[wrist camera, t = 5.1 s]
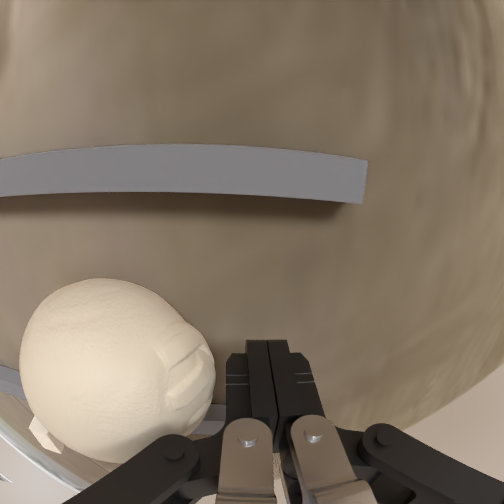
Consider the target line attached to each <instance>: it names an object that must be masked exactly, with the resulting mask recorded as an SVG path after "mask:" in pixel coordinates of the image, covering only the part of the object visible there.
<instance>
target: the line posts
mask: <svg viewBox="0 0 504 504" xmlns="http://www.w3.org/2000/svg"><path fill="white" fill-rule="evenodd" d="M29 429H30V430H31V432H32V433H33V434H34V436H35V437H36V438H37V440H38V441H39V442H40V443H41V445H42V446H43V447H44V448H45V449H48V450H51V451H54V452H57V453H60V454H62V452H63V449H64V446H65V444H63V443H62V442H60V441H59V440H58V439H57V438H55V437H54V436H53V435H52V434H51V433H50V432H48V431H47V430H46V429H45V428H44V427H43V426H42V424H41V423H40V422H39V421H38V419H37V418H36V417H35V416H34V418H33V420H32V422H31V424H30V426H29Z"/></svg>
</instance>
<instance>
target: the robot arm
mask: <svg viewBox="0 0 504 504" xmlns="http://www.w3.org/2000/svg"><path fill="white" fill-rule="evenodd" d="M273 453H280V459H281V464H280V467H279V473H280V477H281V481H282V485H283V489H284V493H285V498H286V502H287V504H504V482H502V481H499V480H497V479H495V478H493V477H490V476H488V475H486V474H483V473H482V472H479V471H477V470H475V469H473V468H471V467H468V466H467V465H465V464H463V463H461V462H459V461H457V460H455V459H453V458H451V457H449V456H447V455H445V454H443V453H441V452H439V451H437V450H435V449H433V448H431V447H429V446H428V445H425V444H424V443H422V442H420V441H419V440H417V439H415V438H413V437H411V436H409V435H408V434H406V433H404V432H402V431H401V430H399V429H397V428H395V427H394V426H392V425H389V424H384V423H380V424H374V425H372V426H370V427H369V428H367V429H366V431H365V432H360V431H351V430H344V429H341V428H338V427H336V426H334V424H333V423H332V422H331V421H330V420H328V419H327V418H326V417H325V414H324V412H323V408H322V405H321V401H320V398H319V395H318V391H317V388H316V385H315V383H314V378H313V375H312V371H311V368H310V365H309V362H308V360H307V359H306V358H305V357H304V356H303V355H302V354H301V353H290V351H289V347H288V343H287V340H246V345H245V354H242V353H232V354H231V356H230V357H229V359H228V361H227V362H226V421H225V424H224V426H223V427H222V429H221V430H220V431H219V432H218V433H216V434H215V435H213V436H211V437H208V438H204V439H199V440H195V441H192V440H190V439H189V438H187V437H185V436H182V435H178V434H168V435H164V436H161V437H159V438H158V439H156V440H155V441H153V442H152V443H151V444H150V445H148V446H147V447H145V448H144V449H143V450H141V451H140V452H139V453H137V454H136V455H135V456H133V457H132V458H130V459H129V460H128V461H126V462H125V463H123V464H122V465H121V466H119V467H118V468H116V469H115V470H113V471H112V472H111V473H109V474H108V475H106V476H105V477H103V478H102V479H100V480H99V481H97V482H96V483H94V484H93V485H91V486H90V487H88V488H86V489H85V490H83V491H82V492H80V493H79V494H77V495H76V496H74V497H72V498H70V499H69V500H67V501H66V502H64V503H63V504H195V503H196V502H198V501H199V500H200V499H201V498H202V497H204V496H208V495H212V494H216V493H217V495H216V502H215V504H277V499H276V496H275V494H274V477H273Z"/></svg>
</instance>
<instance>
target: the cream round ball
mask: <svg viewBox="0 0 504 504" xmlns="http://www.w3.org/2000/svg"><path fill="white" fill-rule="evenodd" d="M19 368H20V376H21V382H22V386H23V390H24V393H25V396H26V399H27V401H28V404H29V406H30V408H31V410H32V412H33V413H34V415H35V417H36V418H37V419H38V421H39V422H40V423H41V424H42V426H43V427H44V428H45V429H46V430H47V431H48V432H50V433H51V434H52V435H53V436H54V437H55V438H57V439H58V440H59V441H60V442H62V443H63V444H65V445H66V446H67V447H69V448H70V449H72V450H74V451H76V452H78V453H81V454H83V455H85V456H87V457H90V458H93V459H96V460H100V461H104V462H112V463H125V462H126V461H128V460H129V459H130V458H132V457H133V456H135V455H136V454H137V453H139V452H140V451H141V450H143V449H144V448H145V447H147V446H148V445H150V444H151V443H152V442H153V441H155V440H156V439H158V438H159V437H161V436H164V435H168V434H178V435H182V436H185V437H186V436H188V435H189V434H190V433H191V432H193V431H194V430H195V429H196V428H197V427H198V426H199V424H200V423H201V422H202V420H203V419H204V417H205V415H206V413H207V411H208V408H209V406H210V404H211V401H212V398H213V390H214V387H215V383H216V372H215V363H214V358H213V356H212V353H211V351H210V349H209V346H208V344H207V342H206V340H205V339H204V337H203V336H202V334H201V333H200V332H199V331H198V330H197V329H195V328H194V327H192V326H191V325H190V324H189V323H187V322H186V321H185V320H184V319H183V318H182V317H181V316H180V314H179V313H178V312H177V311H176V310H175V309H174V308H173V307H172V306H171V305H169V304H168V303H167V302H166V301H165V300H164V299H163V298H162V297H160V296H159V295H158V294H156V293H154V292H153V291H151V290H149V289H147V288H145V287H142V286H139V285H137V284H134V283H132V282H128V281H124V280H116V279H108V278H94V279H87V280H83V281H80V282H76V283H73V284H69V285H67V286H64V287H62V288H60V289H58V290H56V291H55V292H53V293H52V294H50V295H49V296H48V297H46V298H45V299H44V300H43V301H42V302H41V303H40V305H39V306H38V307H37V309H36V310H35V312H34V313H33V315H32V317H31V319H30V321H29V322H28V325H27V326H26V329H25V332H24V335H23V338H22V343H21V349H20V358H19Z"/></svg>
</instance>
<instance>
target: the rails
mask: <svg viewBox="0 0 504 504" xmlns="http://www.w3.org/2000/svg"><path fill="white" fill-rule="evenodd" d="M367 169H368V161H366V160H362V159H358V158H354V157H347V156H341V155H333V154H326V153H318V152H310V151H301V150H291V149H280V148H269V147H255V146H239V145H217V144H134V145H113V146H98V147H85V148H74V149H64V150H55V151H47V152H39V153H32V154H26V155H19V156H13V157H7V158H2V159H0V197H5V196H19V195H35V194H54V193H81V192H191V193H221V194H242V195H260V196H276V197H290V198H303V199H315V200H327V201H337V202H347V203H357V204H362V203H363V197H364V190H365V184H366V177H367ZM0 391H2V392H5V393H7V394H10V395H12V396H15V397H18V398H20V399H23V400H26V401H27V399H26V396H25V393H24V390H23V386H22V382H21V376H20V371H17V370H13V369H10V368H7V367H4V366H2V365H0ZM225 421H226V405H224V404H210V406H209V408H208V411H207V413H206V415H205V417H204V419H203V420H202V422H201V423H200V424H199V426H198V427H197V428H196V429H195V430H194V431H193V432H191V433H190V434H201V435H215V434H216V433H218V432H219V431H220V430H221V429H222V427H223V426H224V424H225Z"/></svg>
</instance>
